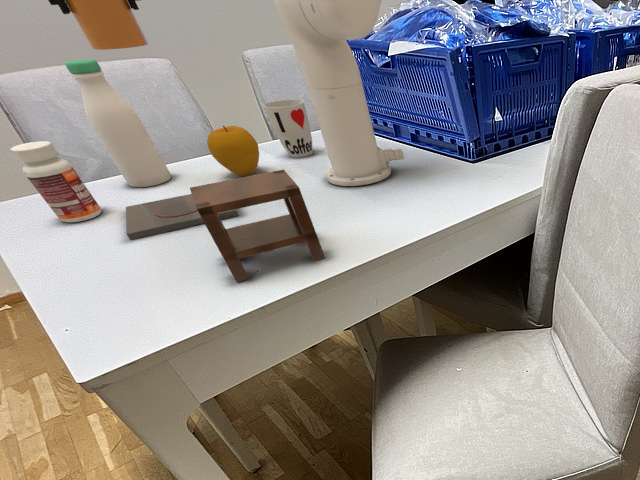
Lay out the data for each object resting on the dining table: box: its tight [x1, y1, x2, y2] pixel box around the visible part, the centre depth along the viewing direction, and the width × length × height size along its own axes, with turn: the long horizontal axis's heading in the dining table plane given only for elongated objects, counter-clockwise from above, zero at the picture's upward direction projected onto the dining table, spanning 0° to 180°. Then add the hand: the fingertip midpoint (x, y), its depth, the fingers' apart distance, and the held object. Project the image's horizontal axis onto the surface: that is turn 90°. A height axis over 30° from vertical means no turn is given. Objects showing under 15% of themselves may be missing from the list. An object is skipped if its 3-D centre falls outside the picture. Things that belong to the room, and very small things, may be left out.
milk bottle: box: [64, 58, 172, 188], centre depth 84 cm, size 8×8×20 cm
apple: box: [206, 124, 260, 177], centre depth 91 cm, size 9×9×9 cm
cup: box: [262, 99, 314, 158], centre depth 100 cm, size 8×8×10 cm
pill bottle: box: [10, 140, 103, 223], centre depth 75 cm, size 6×6×11 cm
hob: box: [125, 193, 239, 241], centre depth 78 cm, size 16×14×1 cm
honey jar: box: [65, 0, 149, 51], centre depth 54 cm, size 6×6×8 cm
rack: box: [189, 168, 326, 283], centre depth 62 cm, size 12×9×10 cm
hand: (101, 9), depth 54 cm, fingers closed on honey jar, 6 cm apart
